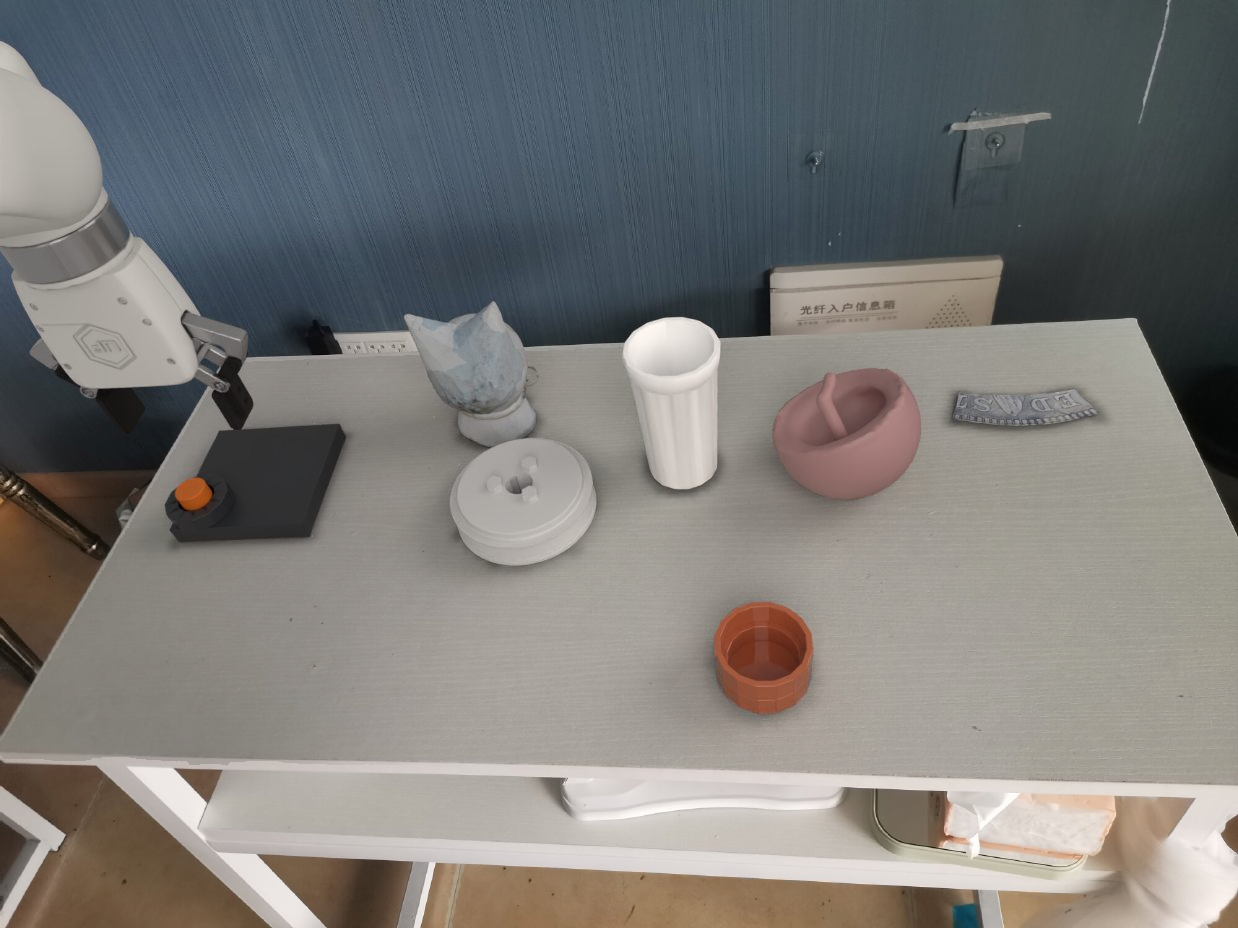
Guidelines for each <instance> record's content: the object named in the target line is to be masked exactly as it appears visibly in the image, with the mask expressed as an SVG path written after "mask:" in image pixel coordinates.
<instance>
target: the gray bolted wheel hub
mask: <svg viewBox="0 0 1238 928" xmlns="http://www.w3.org/2000/svg"><path fill="white" fill-rule="evenodd" d="M592 475H593V474H592V471H591V468H590V465H589V463H588V461H587V460H586V459H585V458H584V457H583V455H582V454H581V453H580V452H578V450H576V449H575V448H573V447H571V446H570V445H568V444H567V443H564V442H561V441H559V440H556V439H550V438H545V437H525V438H523V439H516V440H512V441H508V442H505V443H502V444H499V445H497V446H494V447H489V448H488V449H486V450H484V451H483V452H481V453H479V455H477V456H476V457H473V459H472V460H471V461H470V462H468V463H467V465H466V466H464V467H463V469H462V470H461V471H460V473H459V474H458V476H457V477H456V479H455V481H454V484H453V485H452V488H451V491H450V496H449V510H450V513H451V516H452V518H453V521H454V523H455V525H456V527H457V530H458V533H459V536H460V538H461V540H462V542H463V544H464V545H465V546H466V547H467V548H468V550H470V551H471V552H472V553H473V554H474V555H476V556H478V558H481V559H483V560H485V561H486V562H490V563H494V564H496V565H502V566H527V565H533V564H537V563H541V562H545V561H547V560H550V559H552V558H554V557H557V556H558V555H561V554H562V553H564V552H565V551H567V550H569V549H570V548H571V547H573V545H575V544H576V543H577V542H578V541H579V540H580V539H581V538H582V537H583V536H584V534H586V532H587V531H588V529H589V528H590V526H591V524H592V523H593V521H594V517H595V515H596V510H597V493H596V489H595V486H594V484H593V482H594V481H593V480H594V479H593V476H592Z"/></svg>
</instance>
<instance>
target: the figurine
mask: <svg viewBox="0 0 1238 928" xmlns="http://www.w3.org/2000/svg"><path fill="white" fill-rule="evenodd" d="M403 319H404V321H405V324H406V326H407V329H408V332H409V334H410V336H411V338H412V340H413V342H414V344H415V348H416V349H417V352H418V354H419V356H420V358H421V361H422V364H423V366H424V369H425V371H426V374H427V377H428V380H429V382H430V384H431V386H432V387H433V389H434V390H435V391H434V392H435V393H436V394H437V397H439V398H440V399H441V401H442V402H444V403H445V404H446V405H448V406H450V407H451V408H453V409H456V410H458V413H457V427H458V429H459V430H460V433H461V434H462V436H463V437H464V438H465V439H466V440H469V441H473V442H475V443H477V444H479V446H483V447H484V448H485V447H486V448H492V447H494V446H497V445H499V444H502V443H505V442H508V441H512V440H516V439H523V438H528V436H529V435H531V434H532V433H533V432H534V430H535V427H536V425H537V414H536V412H535V410H534V409H533V407H532V406H531V404H530V403H529V401H528V399H527V397H526V394H527V388H528V387H532V386H534V385H535V384H536V383H537V382H538V381H539V379H540V374H539V371H538V370H537V368H536V367H534V366H530V365H529V363H528V357H527V352H526V350H525V347H524V345H523V342H522V340H521V338H520V337H519V335H518V333H517V332H516V331H515V330H514V329H513V328H512V327H511V326H510V325H509V324H508V323H506V322H505V321H504V319H503V316H502V313H501V311H500V309H499V306H498V305H497V303H496V302H495V301H494V300H492V301H490V303H489V304H488V305H486V306H485V307H484V308H482V309H481V310H479V312H477V313H466V314H464V315H460V316H457V317H454V318H453V319H451V320H449V321H448V322H443V321H441V320H440V321H439V320H435V319H431V318H427V317H422V316H416V315H413V314H411V313H406V314H404V315H403ZM528 369H531V370H533V371H534V372H535V373H536V380H535V382H533V383H530V384H527V383H528V382H529V378H527V377H528Z"/></svg>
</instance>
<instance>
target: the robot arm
mask: <svg viewBox="0 0 1238 928" xmlns="http://www.w3.org/2000/svg"><path fill="white" fill-rule="evenodd" d="M103 177H104V175H103V167H102V161H101V157H100V153H99V151H98V148H97V145H96V143H95V141H94V138H93V137H92V135H91V133H90V132H89V130H88V128H87V127H86V125H85V124H84V123H83V121H82V120H81V118H79V117H78V115H77V114H76V113H75V112H74V110H73V109H72V108H70V107H69V105H67V104H66V103H65V102H64V101H63V100H62V99H60V98H59V97H58V96H57V95H55V94H54V93H52V91H50V90H49V89H47V88H45V87H44V86H43V85H42V84H41V82H40V81H39V79H38V77H37V76H36V74H35V72H34V71H33V69H32V68H31V66H30V65H29V64H28V62H27V60H26V59H25V58H24V56H23V55H21V53H19V51H17V50H16V49H15V48H14V47H12V46H11V45H10V44H9V43H6V42H5V41H1V40H0V253H1V254H2V256H3V257H4V258H5V260H6V261H7V263H8V264H9V265H10V266H11V267H12V269H13V270H12V272H11V275H10V278H11V281H12V283H13V286H14V289H15V291H16V293H17V296H18V298H19V300H20V302H21V305H22V307H23V309H24V310H25V312H26V314H27V316H28V318H29V319H30V322H31V323H32V324H33V326H34V328H35V329H36V331H37V333H38V334H39V336H40V338H39V339H37V341H36V342H35V343H34V345H32V347H31V348H30V350H29V351H28V352H29V355H30V356H31V357H32V358H34V359H35V360H37V361H38V362H39V363H41V364H42V365H44V366H45V367H47V368H48V369H50V370H54V374H55V376H56V377H57V378H59V379H60V380H62V381H65V382H67V383H69V384H71V385H73V386H75V387H77V388H79V392H80V394H81V395H82V396H84V397H85V398H86V399H95V402H96V403H97V405H98V407H100V408H101V410H102V411H103V412H104V414H105V415H106V416H107V418H108V419H109V420H110V421H111V423H112V424H113V426H114V427H115V428H116V429H117V431H118V432H119V433H120V434H121V435H130V434H131V433H132V432H133V431H134V429H135V428H136V426H137V424H138V423H139V421H140V419H141V418H142V416H143V415H144V413H145V411H146V405H145V404H144V403H143V401H142V400H141V399H140V398H139V395H138V394H137V393H136V392H135V390H134V389H133V388H145V387H166V386H177V385H183V384H187V383H189V382H190V381H193V379H195V380H197V381H198V382H200V383H202V384H204V385H205V386H207V387H209V388H211V389H212V392H211V399H212V400H213V402H214V404H215V405H216V407H217V408H218V410H219V411H220V413H221V414H222V416H223V417H224V420H225V421H226V423H227V424H228V426H229V427H230V429H231V430H241V429H244V426H245V424H246V422H247V420H248V419H249V416H250V414H251V412H252V410H253V408H254V405H255V404H254V399H253V397H252V395H251V393H250V391H248V389H247V387H246V386H245V384H244V382H243V380H242V379H241V377H240V375H239V373H240V371H241V369H242V367H243V365H244V364H245V362H246V360H247V358H248V356H249V353H248V347H249V333H248V332H247V330H245V329H243V328H241V327H238V326H234V325H231V324H229V323H228V324H227V323H225V322H221V321H218V320H215V319H211V318H208V317H205V316H203V315H201V313H200V311H199V310H198V309H197V307H196V305H195V303H194V302H193V300H192V299H191V298H190V297H189V295H188V293H187V292H186V291H185V289H184V288H183V286H182V285H181V283H180V282H179V281H178V280H177V277H175V276H174V275H173V273H172V272H171V270H170V269H169V268H168V267H167V266H166V264H165V263H164V262H163V261H162V260H161V258H160V257H159V256H158V255H157V254H156V252H155V251H154V250H153V249H152V248H151V247H150V246H149V245H148V244H147V243H146V242H145V241H144V239H143V238H142V237H139V236H134V234H133V233H132V231H131V229H130V227H129V226H128V225H127V222H125V220H124V218H123V217H122V215H121V213H120V212H119V210H118V209H117V207H116V205H115V204H114V202H113V200H112V198H111V197H110V195H109V194H108V192H107V191H106V189H105V187H104V185H103V184H104V183H103V182H104V180H103ZM217 346H219V347H221V348H222V349H223V350H221V349H220V348H218V347H217ZM204 359H205V360H207V361H208V362H210V363H212V364H214V365H215V366H217V367H219V370H218V372H215V371H214V370H212V369H211V368H209V367H207V366H205V365H203V364H202V362H203V360H204Z"/></svg>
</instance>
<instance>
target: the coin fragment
mask: <svg viewBox="0 0 1238 928" xmlns="http://www.w3.org/2000/svg"><path fill="white" fill-rule="evenodd" d="M1100 413H1101V412H1100V411H1099V410H1097V409H1096V408H1095V407H1094V406H1093V405H1092V404H1090V403H1089V402H1088V401H1087V400H1085V399H1084V398H1083V397H1082V396H1081V394H1080V393H1078V391H1077V390H1076V389H1075V388H1073V389H1068V390H1067V389H1066V390H1061V391H1056V392H1049V393H1048V392H1047V393H1036V394H1028V395H1018V394H1015V395H1011V394H988V393H985V394H977V393H966V392H961V391H959V392H958V397H957V402H956V406H955V409H954V410H953V414H952V420H958V421H966V422H971V423H978V424H980V423H982V424H986V425H987V424H988V425H996V426H1016V427H1017V426H1037V425H1050V424H1051V425H1052V424H1059V423H1063V422H1070V421H1074V420H1078V419H1081V418H1084V417H1085V418H1086V417H1089V416H1093V415H1097V414H1100Z"/></svg>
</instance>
